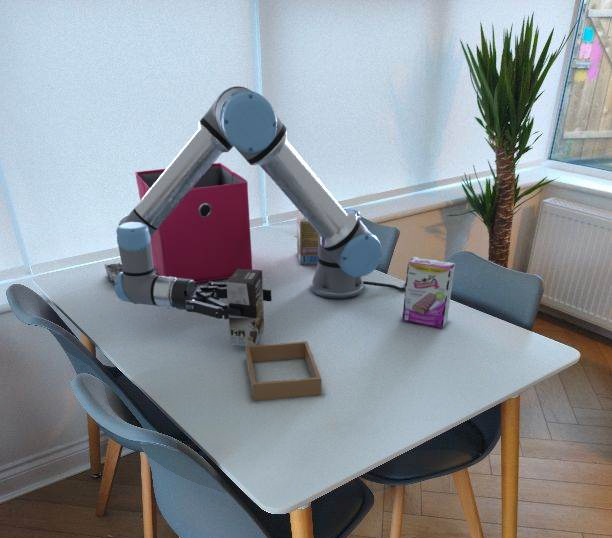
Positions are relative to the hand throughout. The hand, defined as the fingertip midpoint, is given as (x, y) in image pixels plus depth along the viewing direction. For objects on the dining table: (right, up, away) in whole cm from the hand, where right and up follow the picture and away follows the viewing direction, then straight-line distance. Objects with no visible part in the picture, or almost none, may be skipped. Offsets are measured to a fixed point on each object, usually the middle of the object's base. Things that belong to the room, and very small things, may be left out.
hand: (263, 303), depth 142 cm
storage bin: (-24, +20, +52) cm, 61 cm away
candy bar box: (+41, -2, +18) cm, 45 cm away
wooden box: (+5, -17, -6) cm, 19 cm away
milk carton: (+13, +24, +59) cm, 65 cm away
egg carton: (-47, +15, +45) cm, 67 cm away
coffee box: (-4, -8, +6) cm, 11 cm away
